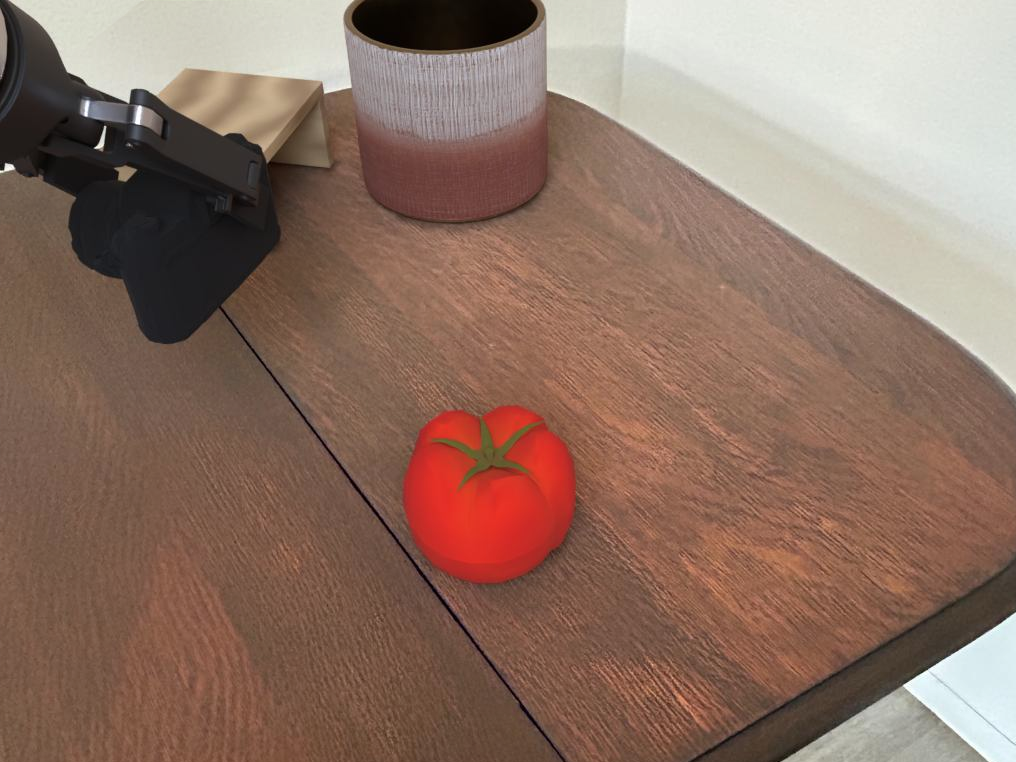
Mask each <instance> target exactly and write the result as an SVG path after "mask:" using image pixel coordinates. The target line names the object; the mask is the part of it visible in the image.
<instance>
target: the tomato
mask: <svg viewBox="0 0 1016 762" xmlns="http://www.w3.org/2000/svg"><path fill="white" fill-rule="evenodd" d="M546 422H547V420H546V419H545V418H544V417H542V416H541V415H539V414H537V413H536V412H534V411H532V410H529V409H527V408H525V407H523V406H521V405H518V404H511V405H499V406H497V407H496V408H494V409H492V410H490V411H489V412H486V414H483V415H480V417H477V416H475V415H473V414H471V413H469V412H467V411H466V410H463V409H454V410H446V411H442V412H441V413H439V414H438V415H437V416H436V417H434V418H432V419H431V420H429V422H428V423H426V424H425V425H424V426H423V427H422V428H420V430H419V432H418V434H417V435H418V436H417V439H416V442H415V445H414V448H413V450H412V453H411V457H410V460H409V462H408V466H407V470H406V473H405V476H404V479H403V481H402V505H403V509H404V513H405V515H406V519H407V523H408V526H409V529H410V532H411V535H412V539H413V542H414V543H415V545H416V546H417V548H418V549H419V550H420V551H421V553H422V554H423V555H424V557H426V558H427V560H428V561H429V562H430V563H431V564H432V566H434V567H435V568H436V569H438V570H439V571H441V572H443V573H445V574H447V575H448V576H451V577H452V578H454V579H458V580H462V581H466V582H470V583H473V584H498V583H499V584H500V583H504V582H507V581H510V580H513V579H516V578H519V577H522V576H525V575H526V574H527V573H529V572H530V571H531V572H532V570H534V569H535V568H537V567H538V566H540V565H541V564H542V563H543V562H544V560H545V559H546V558H547V557H548V555H549V554H550V553H551V552H552V551H553V550H555V549H557V548H559V547H560V546H561V545H562V543H563V541H564V539H565V537H566V534H567V532H568V530H569V529H570V527H571V524H572V522H573V520H574V514H575V507H576V500H577V499H576V497H577V496H576V495H577V494H576V492H577V491H576V489H577V482H576V481H577V480H576V472H575V462H574V459H573V457H572V455H571V453H570V451H569V448H568V446H567V443H566V442H565V441H563V440H562V439H561V438H560V437H559V436H557V435H556V434H555V433H554V432H553V431H550V430H549V428H548V426H547V424H546Z"/></svg>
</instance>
